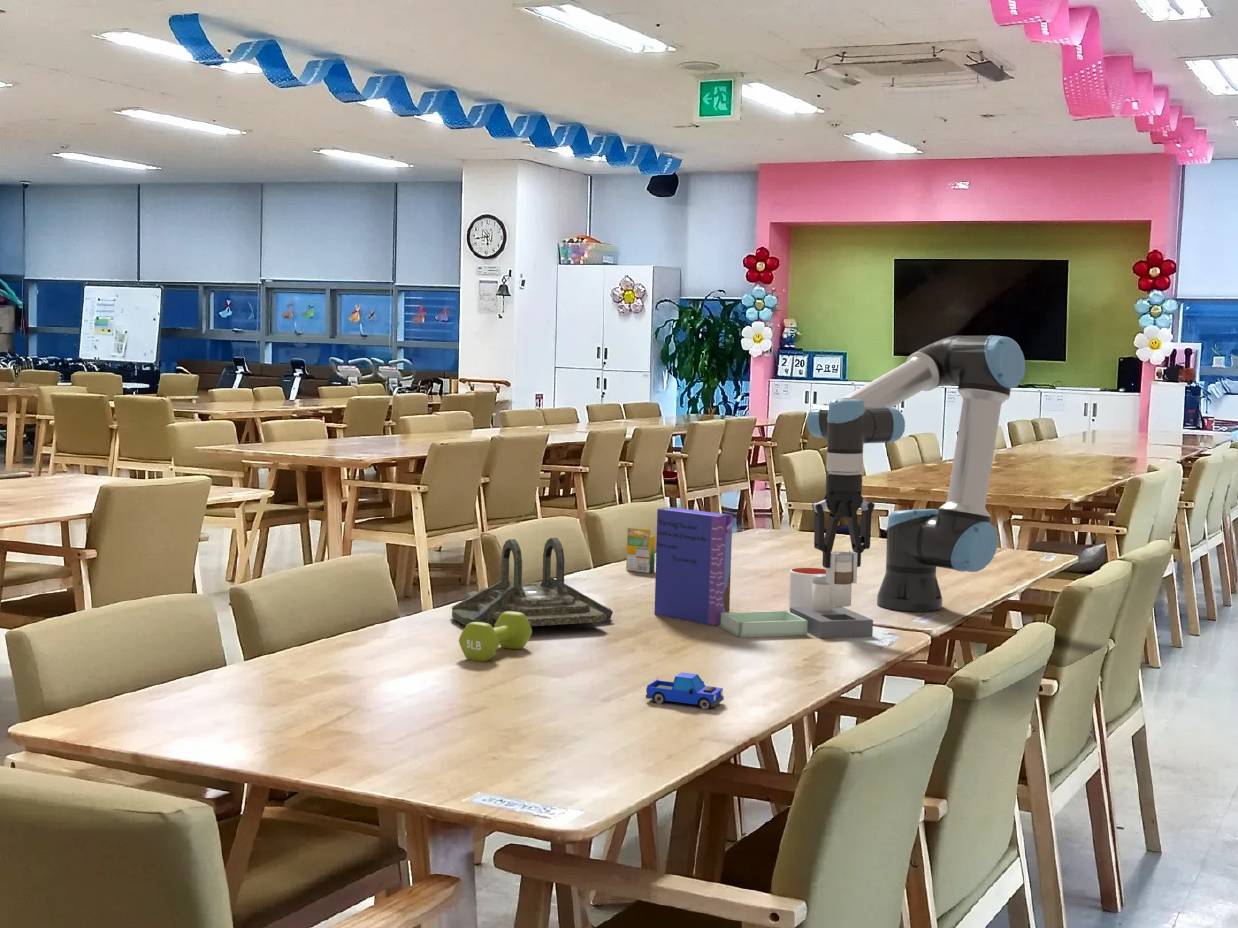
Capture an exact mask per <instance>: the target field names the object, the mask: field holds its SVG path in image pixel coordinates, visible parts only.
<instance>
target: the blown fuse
mask: <svg viewBox="0 0 1238 928" xmlns="http://www.w3.org/2000/svg"><path fill="white" fill-rule="evenodd" d="M832 553H835V577H834V584H831V585H830V605H832V606H839V607H844V608H846V607H850V606H852V586H853V585H852V584H853V583H852V557H853V553H850V552H849V551H832Z"/></svg>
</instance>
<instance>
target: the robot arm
mask: <svg viewBox="0 0 1238 928" xmlns="http://www.w3.org/2000/svg"><path fill="white" fill-rule="evenodd" d="M1025 361H1026V360H1025V356H1024V352H1023V351H1022V349H1021V346H1020V344H1018V343H1017V341H1015V340H1014V339H1013V338H1011V337H1008V336H1004V335H1003V336H1001V335H994V334H991V335H951V336H948V337H945V338H942V339H939V340H938V341H935V342H933V343H930V344H928V345H926V346H924V347H922V348H920V349H919V350H917V351H915V352H913V353H911V354H910V355H909V356H908V357H907V359H906V360H905V362H904V363H902V364H901V365H899V366H897V367H895V368H893V369H892V370H890V371H888V372H886V373H885V374H882V375H881V376H879V377H878V378H875V379H874V380H871V382H868V383H867V384H865V385H863V386H862V387H860V388H858V389H856V390H854V391H852V392H851V393H849V394H847V395H845V396H844V397H842V398H835V399H831V400H830V401H829V403H822V404H816V405H813V406H812V407H811V408H810V409H809V411H808V413H807V415H806V416H807V417H806V425H807V429H808V431H809V433H810V434H811V435H812V436H813V437H814V438H820V439H824V440H826V442H827V443H826V446H827V447H826V448H827V449H826V468H825V469H826V471H828V473H827V474H826V475H825V477H826V478H825V495H824V497H823V499H822V500H820V501H819V502H813V503H811V504H812V505H811V508H812V509H813V514H814V517H813V519H814V521H813V522H814V523H813V525H814V531H813V532H814V533H813V537H814V538H813V547H814V548H815V549H816V550H819V551H820V552H822V567H823V568H824V569H826V582H827V583H829V584H834V577H835V553H832V552H833V547H834V543H835V540H836V536H837V530H838V526H839V523H840V521H841V518H844V517H845V520H846V522H847V527H848V528H847V529H848V532H849V533H848V534H849V538H850V543H851V549H852V550H848V552H850V553H853V557H852V584H857V582H858V581H857V578H858V568H861V566H862V553H863V552H864V551H865V550H869V549H870V548H871V536H872V535H871V533H872V516H873V512H874V509H875V503H874V502H871V501H867V500H865V499H864V497H863V496H862V492H863V475H862V474H861V473H862V472H863V471H864V470H863V467H864V466H863V464H864V457H863V456H864V444H865V445H866V444H889V443H892V442H896V441H898V440H900V439H901V438H902V437H903V435H904V433H905V429H906V428H905V427H906V420H905V417H904V415H903V414H902V412H901V411H900V410H899V409H897V408H894V407H896V406H898V405H899V404H901V403H903V402H904V401H907V400H908V399H910V398H911V397H913V396H916V395H917V394H919V393H920V392H921V391H923V392H929V391H932V390H934V389H936V388H938V387H944V386H957V392H958V393H959V395H960V396H961V398H962V404H961V410H960V416H959V417H960V418H959V423H958V428H957V429H958V430H957V436H956V441H955V448H954V454H953V455H954V456H953V462H952V466H951V467H952V468H951V475H950V481H949V487H948V493H947V500H946V501H945V502H944V503H943V504H942V505H941V506H939V507H938V508H937V509H936V508H924V509H923V508H921V509H903V510H902V509H901V510H894V511H892V512H890V514H889V515H888V520H887V527H886V553H885V554H886V557H885V559H886V560H885V565H886V566H885V574H884V576H883V578H882V579H883V580H882V582H881V583H880V584H881V585H880V587H879V590H878V593H877V597H876V598H877V600H876V605H878V606H879V607H880V608H884V609H890V610H897V611H905V612H932V611H933V612H934V611H940V610H941V609H942V608H943V596H942V592H941V588H940V585H939V582H938V578H937V568H942V569H946V570H947V569H948V570H954V571H956V572H961V573H963V572H964V573H965V572H968V573H976V572H979V571H982V570H984V569H985V568H987V566H988V565H989V564H990V563H991V562H992V560H993V559H994V557H995V555H996V552H997V550H998V545H999V536H998V534H997V533H998V532H997V529H996V527H995V526H994V525H993V524H991V514H990V513H989V511H988V510H987V509H986V503H987V498H988V493H989V486H990V479H991V473H992V468H993V467H992V465H993V460H994V453H995V446H996V440H997V434H998V428H999V421H1000V415H1001V409H1002V404H1003V403H1005V402H1006V401H1007V400H1009V399H1010V395H1011V390H1013V389H1014V388H1016V387H1018V386H1019V385H1020V384H1021V382H1022V381H1023V380H1024V377H1025V373H1026V372H1025V371H1026V362H1025ZM826 508H827V510H828V511H829V513H828V516H827V518H828V521H827V525H826V529H825V518H826V517H825V511H826ZM859 508H860V509H861V514H860V515H861V516H860V528H859V524H858V520H859V518H858V513H857V512H858V510H860V509H859Z"/></svg>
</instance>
